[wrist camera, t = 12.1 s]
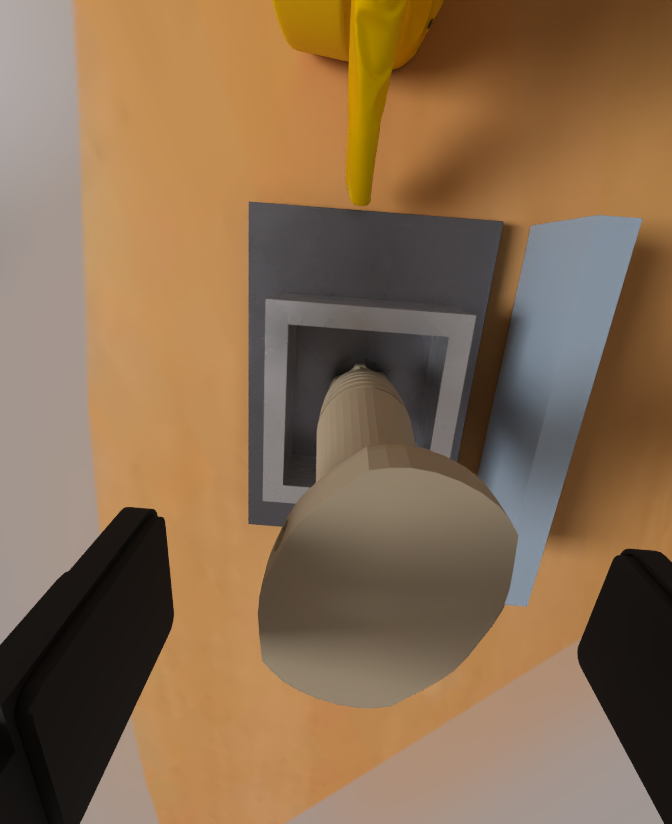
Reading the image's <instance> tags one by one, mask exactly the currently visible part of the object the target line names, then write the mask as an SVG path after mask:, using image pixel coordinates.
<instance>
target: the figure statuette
mask: <svg viewBox="0 0 672 824" xmlns="http://www.w3.org/2000/svg"><path fill="white" fill-rule="evenodd" d="M443 1H444V0H272V2H273V6H274V9H275V13H276V17H277V20H278V23H279V25H280V28H281V31H282V33H283V35H284V37H285V39H286V41H287V42H288V44H289V45H290V46H291V47H292V48H293V49H295V50H298V51H301V52H306V53H311V54H315V55H320V56H325V57H329V58H334V59H339V60H343V61H348V62H349V71H348V120H349V122H348V139H347V155H346V186H347V189H348V193H349V197H350V200H351V202H352V203H353V204H355V205H358V206H366V205H368V204H369V203H370V201H371V189H372V180H373V173H374V166H375V158H376V152H377V145H378V138H379V131H380V122H381V118H382V114H383V111H384V107H385V103H386V97H387V92H388V88H389V83H390V78H391V73H392V70H394V69H397V68H399V67H401V66H403V65H404V64H406V63H407V62H408V61H409V60H410V59H412V58H413V56H414V55H415V54H416V52H417V50H418V48H419V46H420V45H421V43H422V41H423V39H424V37H425V35H426V34H427V32H428V30H429V28H430V26H431V24H432V22H433V21H434V19H435V17H436V15H437V13H438V11H439V9H440V8H441V6H442V4H443Z"/></svg>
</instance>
